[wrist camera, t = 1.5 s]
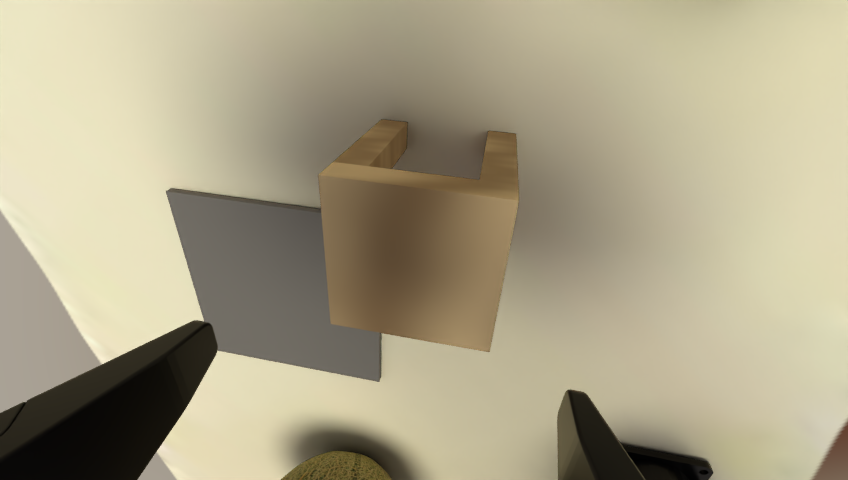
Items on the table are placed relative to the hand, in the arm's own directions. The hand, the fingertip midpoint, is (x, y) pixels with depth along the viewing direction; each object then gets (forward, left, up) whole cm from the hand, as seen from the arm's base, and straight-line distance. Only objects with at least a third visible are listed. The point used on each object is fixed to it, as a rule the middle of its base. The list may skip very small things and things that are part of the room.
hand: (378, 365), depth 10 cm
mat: (+9, +8, -11) cm, 16 cm away
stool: (0, 0, -11) cm, 11 cm away
